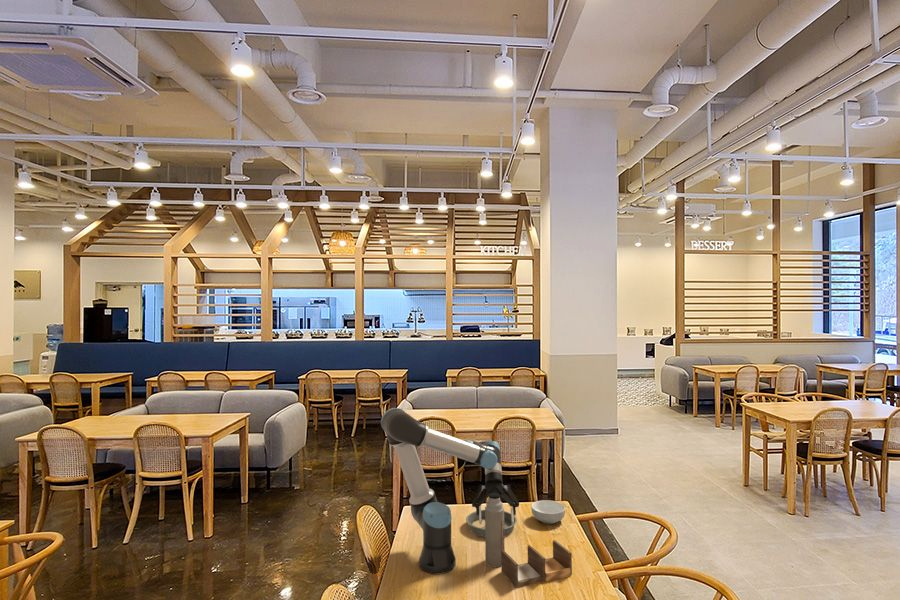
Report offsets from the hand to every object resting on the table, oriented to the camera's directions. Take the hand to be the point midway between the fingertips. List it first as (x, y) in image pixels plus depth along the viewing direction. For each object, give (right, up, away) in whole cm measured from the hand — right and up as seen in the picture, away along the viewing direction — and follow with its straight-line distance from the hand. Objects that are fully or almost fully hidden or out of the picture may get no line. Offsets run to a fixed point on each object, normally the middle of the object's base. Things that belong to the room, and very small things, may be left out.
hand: (496, 523), depth 207 cm
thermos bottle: (-1, -16, -1) cm, 16 cm away
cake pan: (+1, -17, +33) cm, 37 cm away
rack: (+15, -16, -10) cm, 24 cm away
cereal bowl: (+30, -17, +40) cm, 53 cm away
